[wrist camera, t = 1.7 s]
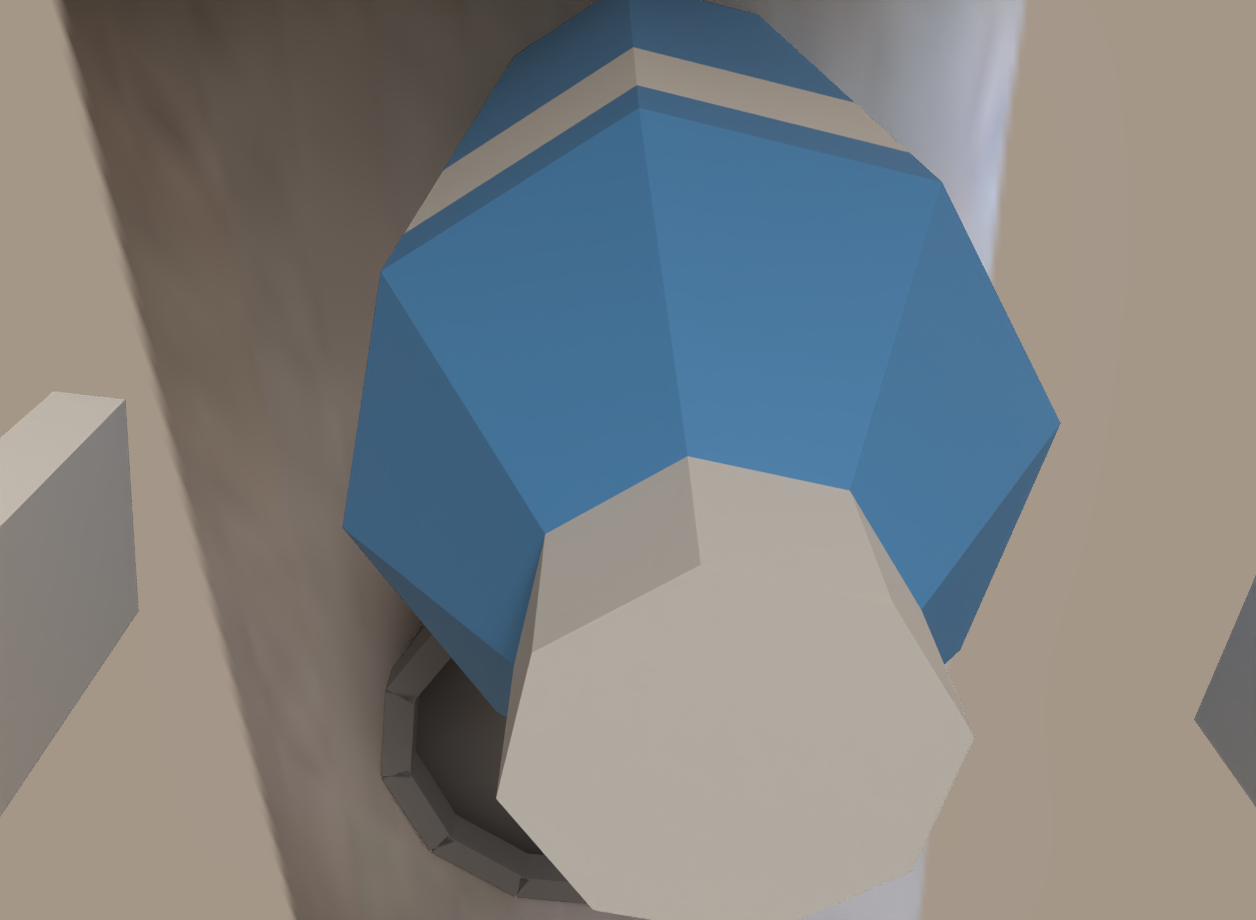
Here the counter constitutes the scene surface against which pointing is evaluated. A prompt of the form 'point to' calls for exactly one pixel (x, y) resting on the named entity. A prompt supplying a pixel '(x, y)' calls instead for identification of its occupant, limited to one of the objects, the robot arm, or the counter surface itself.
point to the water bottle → (697, 461)
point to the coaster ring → (457, 774)
